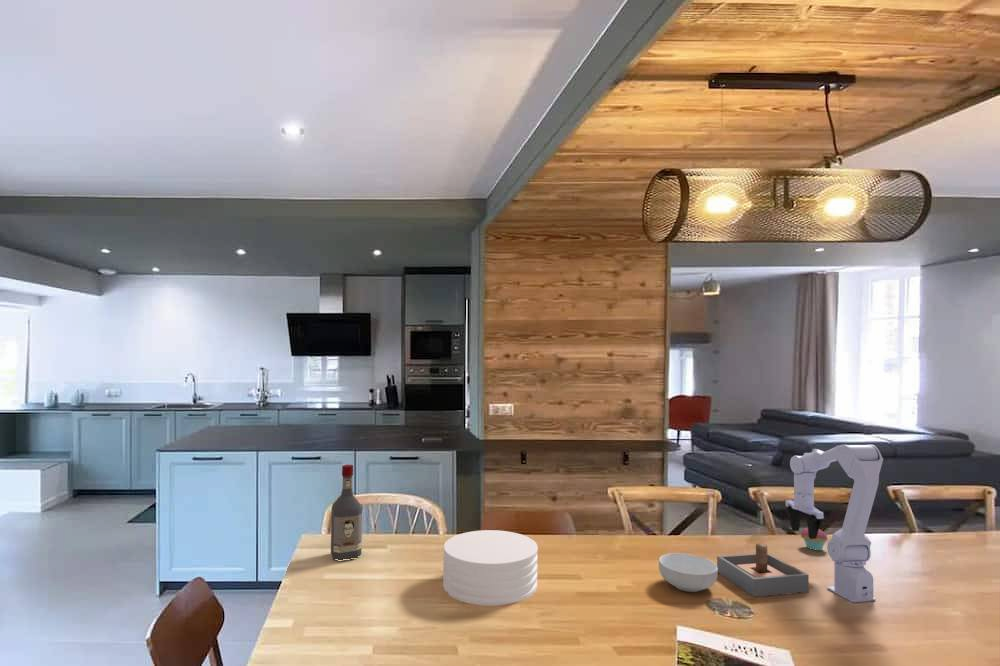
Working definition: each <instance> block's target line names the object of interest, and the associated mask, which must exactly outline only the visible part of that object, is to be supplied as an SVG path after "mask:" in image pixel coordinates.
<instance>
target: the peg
mask: <svg viewBox="0 0 1000 666" xmlns="http://www.w3.org/2000/svg"><path fill="white" fill-rule="evenodd" d="M755 553H756V572H757V573H759V574H761V573H767V553H768V545H767V544H766V543H762V542H761V543H760V542H759V543H756V544H755Z"/></svg>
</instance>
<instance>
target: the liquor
mask: <svg viewBox="0 0 1000 666" xmlns="http://www.w3.org/2000/svg"><path fill="white" fill-rule="evenodd" d="M341 467H342V468H341V476H342V484H341V485H342V490H341V493H340V495H339V496H338V498H337V499H335V501H334V502H333V503H332V505H331V521H330V522H331V524H330V525H331V526H330V527H331V529H330V532H331V533H330V554H331V556H332V560H334V559H338V560H343V559H351V558H357V557H358V556H360V555H361V556H362V544H363V543H362V540H363V539H362V535H363V533H362V532H363V530H362V529H363V528H362V527H363V507H362V505H361V503H360V501H358V499H357V498H356V497H355V496H354V492H353V476H354V464H343V465H342V466H341ZM361 556H360V557H361ZM357 559H358V558H357Z"/></svg>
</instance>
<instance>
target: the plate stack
mask: <svg viewBox="0 0 1000 666" xmlns="http://www.w3.org/2000/svg"><path fill="white" fill-rule="evenodd" d="M538 552H539V548H538V544H537V542H536V541H535V540H533V539H532V538H531V537H530V536H529V537H528V536H527V535H524V534H521V533H517V532H514V531H513V532H512V531H506V530H499V529H498V530H496V529H493V530H492V529H489V530H488V529H487V530H486V529H484V530H483V529H482V530H473V531H472V530H471V531H469V532H468V531H467V532H463V533H459V534H456V535H454V536H452V537H450V538H449V539H447V540H446V541H445V543H444V544H443V564H442V566H443V571H442V578H443V581H442V587H444V588H443V590H444V589H445V590H444V591H445V593H446V592H447V593H448V594H447V593H446V594H447V595H448V596H450V597H451V598H453V599H454V600H457V601H460V602H462V603H467V604H470V605H475V606H476V605H477V606H478V605H479V606H503V605H511V604H515V603H517V602H518V603H519V602H522V601H524V600H526V599H527V598H530V597H532V595H534V594H535V593H536V591H537V590H538V568H539V567H538V566H539V565H538V560H539V558H538ZM533 593H534V594H533Z"/></svg>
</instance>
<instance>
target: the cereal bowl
mask: <svg viewBox="0 0 1000 666" xmlns="http://www.w3.org/2000/svg"><path fill="white" fill-rule="evenodd" d="M658 558H659V559H658V570H659V573H660V575H661V577H662V578H663V579H664V580H665V581H666V582H667V583H668V584H669V585H670V584H671V586H674V587H675V589H678V590H680V591H683V592H687V593H688V592H689V593H696V592H699V591H703V590H706V589H709V588H711V587H712V586H714V584H715V583H716V582H717V579H718V574H719V573H718V568H717V563H715V562H714V561H712V560H711V559H708V558H706V557H703V556H700V555H696V554H689V553H683V552H680V553H679V552H673V553H665V554H663V555H661V556H660V557H658Z"/></svg>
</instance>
